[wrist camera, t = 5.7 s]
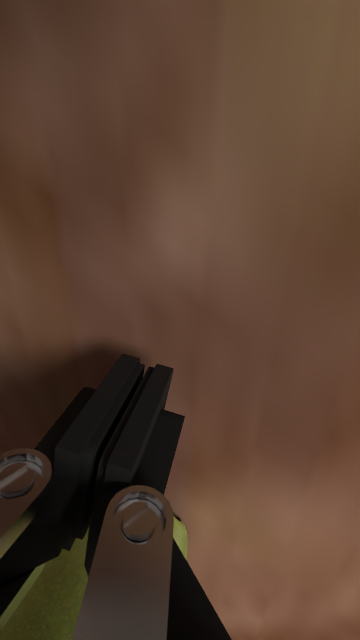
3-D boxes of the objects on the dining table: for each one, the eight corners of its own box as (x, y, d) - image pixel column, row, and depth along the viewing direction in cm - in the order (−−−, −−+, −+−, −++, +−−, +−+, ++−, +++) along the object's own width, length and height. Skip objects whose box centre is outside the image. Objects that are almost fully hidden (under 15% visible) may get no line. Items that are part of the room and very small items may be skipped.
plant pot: (44, 551, 19) (-106, 823, 11) (31, 426, 15) (-221, 713, 7) (205, 601, 17) (167, 947, 10) (240, 479, 13) (224, 904, 6)
